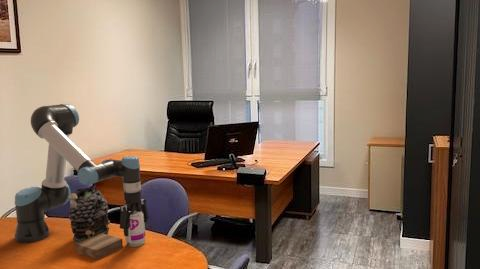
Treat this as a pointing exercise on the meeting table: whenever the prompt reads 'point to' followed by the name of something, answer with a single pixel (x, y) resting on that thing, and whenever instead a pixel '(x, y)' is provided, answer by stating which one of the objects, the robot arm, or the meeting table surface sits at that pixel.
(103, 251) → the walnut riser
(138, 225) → the supplement can
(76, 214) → the decorative house
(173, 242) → the meeting table surface
